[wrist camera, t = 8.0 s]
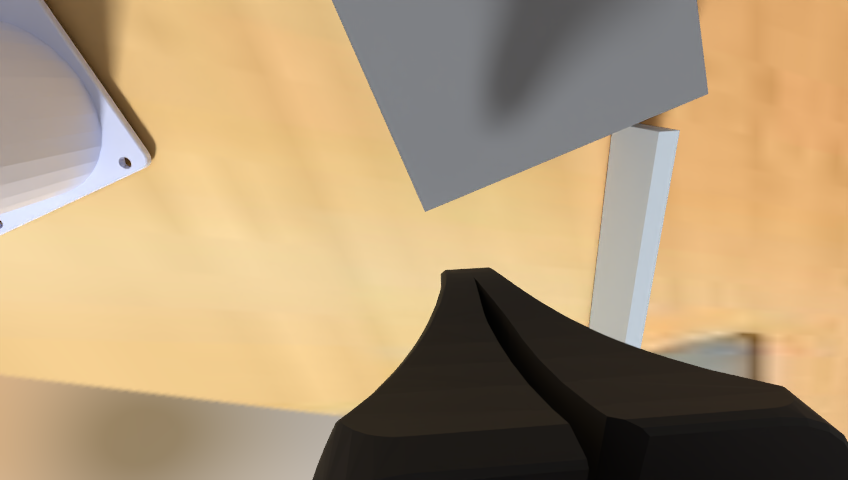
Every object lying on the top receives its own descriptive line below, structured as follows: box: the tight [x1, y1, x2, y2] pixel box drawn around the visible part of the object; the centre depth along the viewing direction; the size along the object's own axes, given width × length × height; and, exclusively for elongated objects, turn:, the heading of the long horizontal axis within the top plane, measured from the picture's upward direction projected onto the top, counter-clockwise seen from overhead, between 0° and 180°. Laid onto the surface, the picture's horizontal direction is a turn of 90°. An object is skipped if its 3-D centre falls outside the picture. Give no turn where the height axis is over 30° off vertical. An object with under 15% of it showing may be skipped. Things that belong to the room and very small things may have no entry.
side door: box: [589, 123, 680, 348], centre depth 19 cm, size 13×1×4 cm, turn 4°
